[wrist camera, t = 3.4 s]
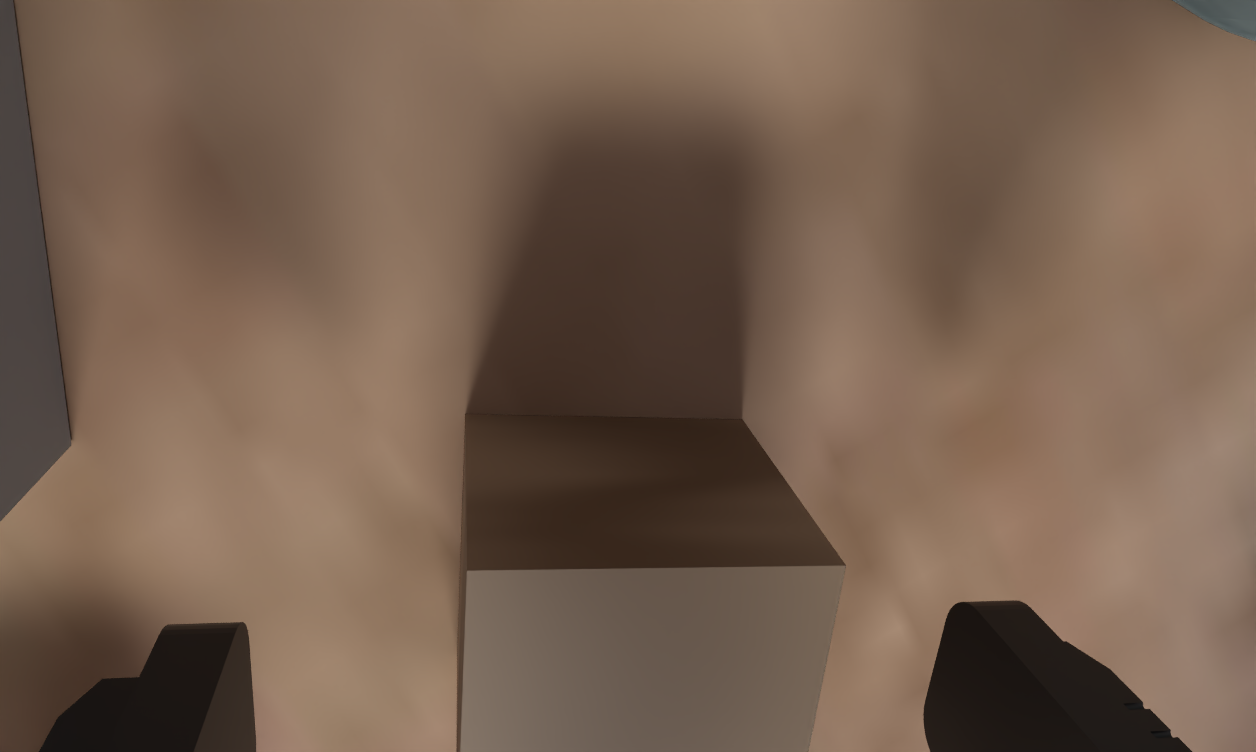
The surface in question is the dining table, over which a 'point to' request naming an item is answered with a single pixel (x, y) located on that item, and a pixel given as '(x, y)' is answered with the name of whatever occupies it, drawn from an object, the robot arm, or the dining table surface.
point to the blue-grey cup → (1226, 14)
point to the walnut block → (636, 589)
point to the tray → (24, 298)
